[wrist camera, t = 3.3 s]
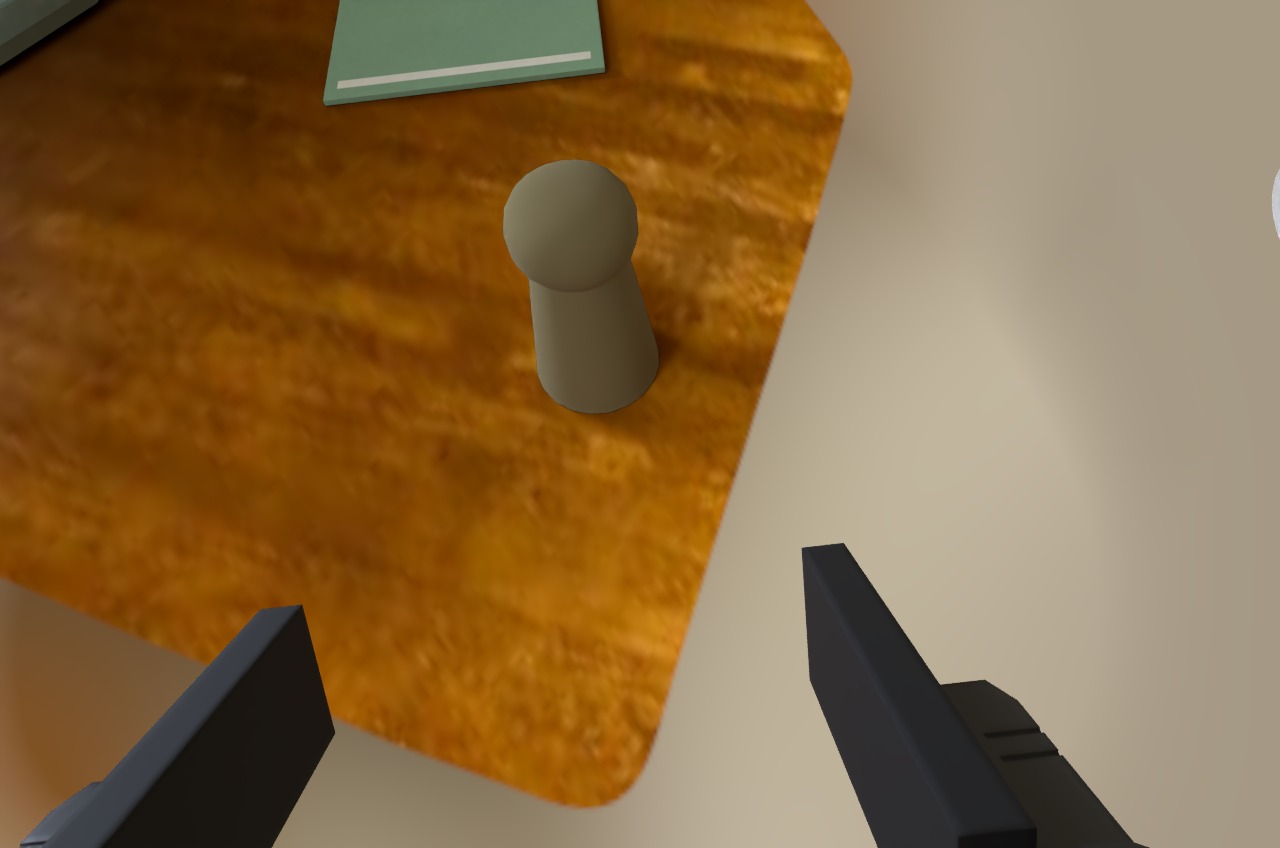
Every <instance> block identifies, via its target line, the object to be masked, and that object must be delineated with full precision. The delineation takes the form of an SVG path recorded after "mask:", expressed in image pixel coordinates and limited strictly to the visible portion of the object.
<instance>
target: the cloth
mask: <svg viewBox="0 0 1280 848" xmlns="http://www.w3.org/2000/svg"><path fill="white" fill-rule="evenodd" d="M597 73H605V64H604V55H603V46H602V38H601V29H600V20H599V12H598V3H597V0H340V4H339V10H338V16H337V22H336V27H335V33H334V39H333V45H332V51H331V57H330V63H329V68H328V74H327V80H326V86H325V92H324V98H323V102H324V104H325V106H329V105H337V104H345V103H354V102H362V101H371V100H379V99H387V98H396V97H404V96H412V95H421V94H429V93H438V92H446V91H454V90H463V89H471V88H479V87H488V86H496V85H504V84H513V83H521V82H530V81H538V80H546V79H555V78H563V77H571V76H580V75H588V74H597Z"/></svg>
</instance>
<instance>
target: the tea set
mask: <svg viewBox="0 0 1280 848" xmlns="http://www.w3.org/2000/svg"><path fill="white" fill-rule="evenodd" d="M98 1H99V0H0V66H1V65H2V64H4V63H5V62H7V61H8V60H10V59H11V58H13V57H14V56H16V55H18V54H19V53H21V52H22V51H24V50H25V49H27V48H28V47H30V46H31V45H33V44H34V43H36V42H38V41H39V40H41V39H42V38H44V37H45V36H47V35H48V34H50V33H51V32H53V31H55V30H56V29H58V28H59V27H61V26H62V25H64V24H65V23H67V22H68V21H70V20H71V19H73V18H75V17H76V16H78V15H79V14H81V13H82V12H84V11H85V10H87V9H88V8H90V7H91V6H93V5H95V4H96V3H97V2H98Z"/></svg>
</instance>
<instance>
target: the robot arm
mask: <svg viewBox="0 0 1280 848" xmlns="http://www.w3.org/2000/svg"><path fill="white" fill-rule="evenodd" d="M802 561H803V577H804V592H805V593H804V594H805V610H806V626H807V643H808V658H809V673H810V674H809V675H810V681H811V684H812V686H813V689H814V691H815V694H816V696H817V699H818V701H819V704H820V706H821V709H822V711H823V714H824V716H825V718H826V721H827V723H828V726H829V728H830V731H831V733H832V736H833V738H834V741H835V743H836V745H837V748H838V751H839V753H840V755H841V758H842V760H843V763H844V765H845V768H846V770H847V773H848V775H849V778H850V780H851V783H852V785H853V787H854V790H855V792H856V795H857V797H858V800H859V802H860V805H861V807H862V809H863V812H864V814H865V817H866V819H867V822H868V824H869V827H870V829H871V832H872V834H873V837H874V839H875V841H876V844H877V847H878V848H1149V847H1146V846H1143V845H1140V844H1137V843H1134V842H1133V841H1132V839H1131V838H1130V837H1129V836H1128V835H1127V834H1126V832H1125V831H1124V830H1123V829H1122V827H1121V826H1120V825H1119V824H1118V823H1117V821H1116V820H1115V819H1114V817H1113V816H1112V815H1111V814H1110V813H1109V811H1108V810H1107V809H1106V808H1105V807H1104V805H1103V804H1102V803H1101V802H1100V800H1099V799H1098V798H1097V797H1096V795H1095V794H1094V793H1093V792H1092V791H1091V789H1090V788H1089V787H1088V786H1087V784H1086V783H1085V782H1084V781H1083V780H1082V778H1081V777H1080V776H1079V775H1078V773H1077V772H1076V771H1075V770H1074V769H1073V767H1072V766H1071V765H1070V764H1069V762H1068V761H1067V760H1066V759H1065V758H1064V756H1062V755H1061V756H1060V755H1059V753H1058V749H1057V748H1056V747H1055V746H1054V744H1053V743H1052V742H1051V740H1050V739H1049V738H1048V737H1047V736H1046V734H1045V733H1041V731H1040V727H1039V726H1038V725H1037V723H1036V722H1035V721H1034V720H1033V719H1032V717H1031V716H1030V715H1029V714H1028V712H1027V711H1026V710H1025V709H1024V707H1023V706H1022V705H1021V704H1020V703H1019V702H1018V700H1016V699H1015V698H1013V697H1011V696H1009V695H1008V694H1007V693H1005V692H1003V691H1002V690H1000V689H999V688H997V687H995V686H994V685H992V684H991V683H989V682H987V681H986V680H978V681H970V682H960V683H952V684H943V685H940V684H939V683H938V681H937V680H936V678H935V677H934V675H933V674H932V672H931V671H930V669H929V668H928V666H927V665H926V663H925V662H924V661H923V659H922V658H921V656H920V655H919V653H918V652H917V650H916V649H915V647H914V646H913V644H912V643H911V641H910V640H909V639H908V637H907V635H906V634H905V633H904V631H903V630H902V628H901V627H900V625H899V624H898V622H897V621H896V619H895V618H894V616H893V615H892V613H891V612H890V610H889V609H888V608H887V606H886V605H885V603H884V602H883V600H882V599H881V597H880V596H879V594H878V593H877V591H876V590H875V588H874V587H873V585H872V584H871V583H870V581H869V580H868V578H867V577H866V575H865V574H864V572H863V571H862V569H861V568H860V567H859V565H858V563H857V562H856V561H855V559H854V558H853V556H852V555H851V553H850V552H849V550H848V549H847V547H846V546H845V544H844V543H840V544H831V545H823V546H813V547H805V548H802ZM334 734H335V730H334V726H333V722H332V719H331V715H330V711H329V707H328V703H327V699H326V695H325V691H324V688H323V684H322V680H321V676H320V672H319V668H318V664H317V660H316V657H315V653H314V649H313V645H312V641H311V637H310V633H309V629H308V626H307V622H306V618H305V614H304V610H303V606H302V605H296V606H287V607H278V608H269V609H261V610H260V611H259V612H258V613H257V614H256V615H255V616H254V617H253V618H252V619H251V620H250V622H249V623H248V624H247V625H246V626H245V627H244V628H243V629H242V630H241V631H240V632H239V633H238V635H237V636H236V637H235V638H234V639H233V640H232V641H231V642H230V643H229V644H228V645H227V646H226V648H225V649H224V650H223V651H222V652H221V653H220V654H219V655H218V656H217V657H216V658H215V660H214V661H213V662H212V663H211V664H210V665H209V666H208V667H207V668H206V669H205V670H204V671H203V673H202V674H201V675H200V676H199V677H198V678H197V679H196V680H195V681H194V682H193V683H192V685H191V686H190V687H189V688H188V689H187V690H186V691H185V692H184V693H183V694H182V695H181V696H180V698H179V699H178V700H177V701H176V702H175V703H174V704H173V705H172V706H171V707H170V709H168V711H167V712H166V713H165V714H164V715H163V716H162V717H161V718H160V719H159V720H158V721H157V722H156V724H155V725H154V726H153V727H152V728H151V729H150V730H149V731H148V732H147V733H146V735H144V737H143V738H142V739H141V740H140V741H139V742H138V743H137V744H136V745H135V746H134V747H133V749H132V750H131V751H130V752H129V753H128V754H127V755H126V756H125V757H124V758H123V759H122V761H121V762H120V763H119V764H118V765H117V766H116V767H115V768H114V769H113V770H112V771H111V772H110V773H109V775H108V776H107V777H106V778H105V779H104V780H103V781H101V782H93V783H91V784H89V785H88V786H86V787H85V788H83V789H82V790H81V791H79V792H78V793H76V794H75V795H73V796H72V797H71V798H69V799H68V800H67V801H65V802H64V803H62V804H61V805H59V806H58V807H57V808H55V809H54V810H52V811H51V812H50V813H49V814H48V815H47V816H46V817H45V818H44V819H43V820H42V822H41V823H40V824H39V825H38V826H37V827H36V828H35V829H34V830H33V831H32V832H31V833H30V834H29V835H28V836H27V837H26V838H25V839H24V840H23V841H22V842H21V843H20V848H272V846H273V844H274V842H275V841H276V839H277V837H278V835H279V833H280V832H281V830H282V828H283V826H284V824H285V823H286V821H287V819H288V817H289V815H290V813H291V812H292V810H293V808H294V806H295V804H296V803H297V801H298V799H299V797H300V796H301V794H302V792H303V790H304V788H305V786H306V785H307V783H308V781H309V779H310V778H311V776H312V774H313V772H314V770H315V769H316V767H317V765H318V763H319V761H320V760H321V758H322V756H323V754H324V752H325V751H326V749H327V747H328V745H329V743H330V742H331V740H332V738H333V736H334Z"/></svg>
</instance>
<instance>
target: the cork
mask: <svg viewBox="0 0 1280 848" xmlns="http://www.w3.org/2000/svg"><path fill="white" fill-rule="evenodd" d="M503 235H504V238H505V241H506V244H507V247H508V249H509V252H510V254H511V257H512V259H513V261H514V262H515V264H516V265H517V266H518V267H519V269H520V270H521V271H522V272H523V273H524V274H525V275H526V276H527V277H528V278H529V288H530V298H531V309H532V319H533V330H534V340H535V351H536V361H537V372H538V376H539V378H540V381H541V384H542V386H543V389H544V390H545V391H546V392H547V393H548V394H549V395H550V397H551V398H552V399H553V400H554V401H555V402H557V403H559V404H561V405H562V406H564V407H566V408H568V409H570V410H573V411H578V412H583V413H588V414H594V413H607V412H612V411H614V410H617V409H620V408H623V407H625V406H628V405H630V404H631V403H632V402H634V401H635V400H637V399H638V398H639V397H641V396H642V395H643V394H644V393H645V392H646V391H647V389H648V388H649V386H650V385H651V384H652V382H653V381H654V379H655V376H656V373H657V369H658V366H659V356H658V347H657V343H656V340H655V337H654V334H653V330H652V327H651V324H650V321H649V317H648V314H647V311H646V308H645V304H644V301H643V298H642V295H641V291H640V288H639V285H638V282H637V278H636V275H635V272H634V269H633V265H632V262H631V256H632V253H633V250H634V248H635V245H636V241H637V237H638V222H637V208H636V205H635V203H634V200H633V198H632V196H631V194H630V192H629V191H628V189H627V187H626V185H625V184H624V183H623V182H622V181H621V180H620V179H619V178H618V177H617V176H615V175H614V174H613V173H612V172H611V171H609V170H608V169H607V168H605V167H603V166H600V165H598V164H596V163H593V162H589V161H582V160H564V161H556V162H553V163H550V164H546V165H543V166H540V167H538V168H537V169H535V170H533V171H532V172H530V173H528V174H527V175H525V176H524V177H523V178H522V179H521V180H520V181H519V182H518V184H517V185H516V186H515V187H514V189H513V191H512V193H511V195H510V197H509V199H508V201H507V203H506V206H505V208H504V222H503Z"/></svg>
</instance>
